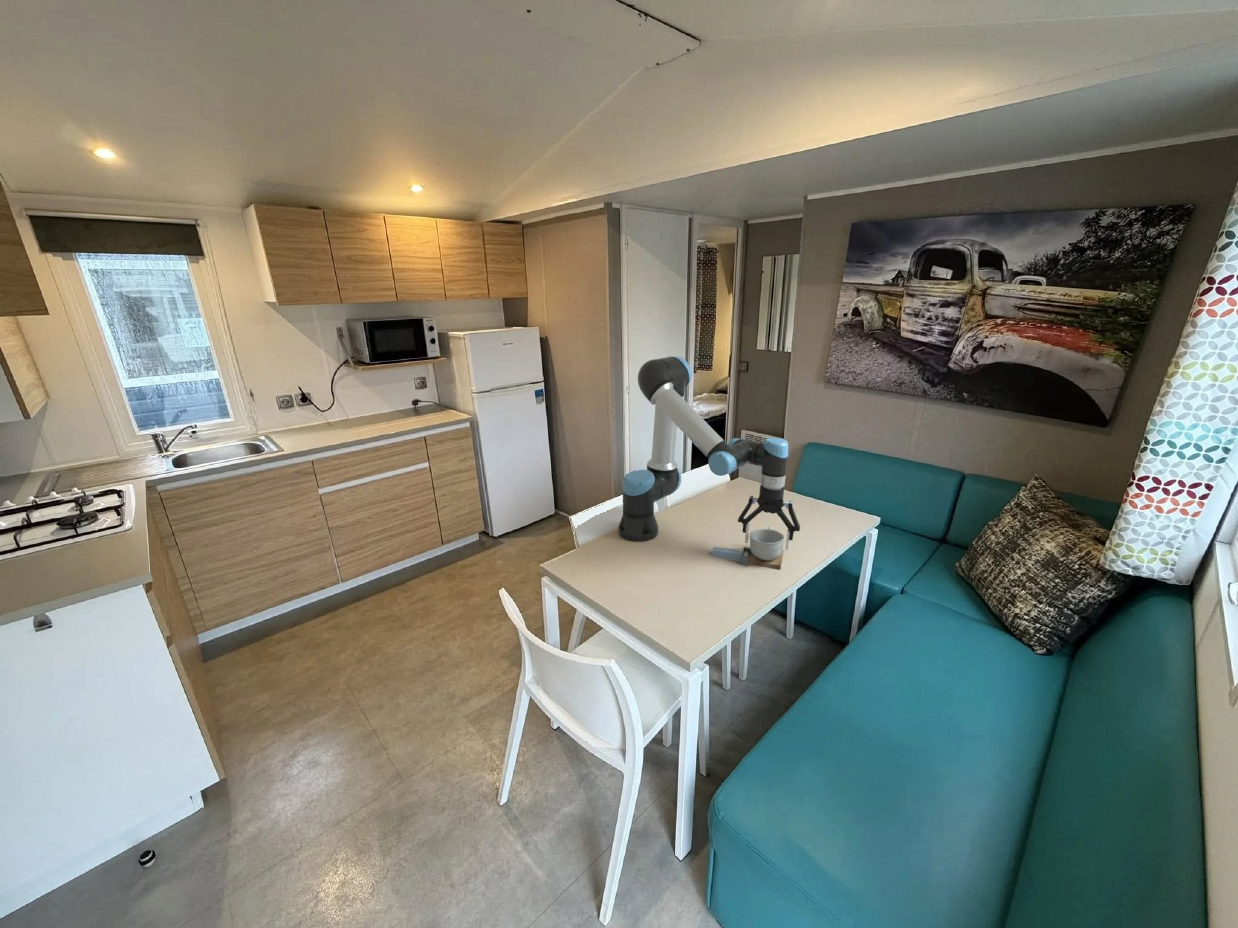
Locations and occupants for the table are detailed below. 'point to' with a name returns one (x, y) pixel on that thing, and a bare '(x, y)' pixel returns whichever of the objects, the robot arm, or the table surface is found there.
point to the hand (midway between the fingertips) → (766, 544)
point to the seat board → (765, 561)
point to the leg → (728, 553)
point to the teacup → (766, 543)
